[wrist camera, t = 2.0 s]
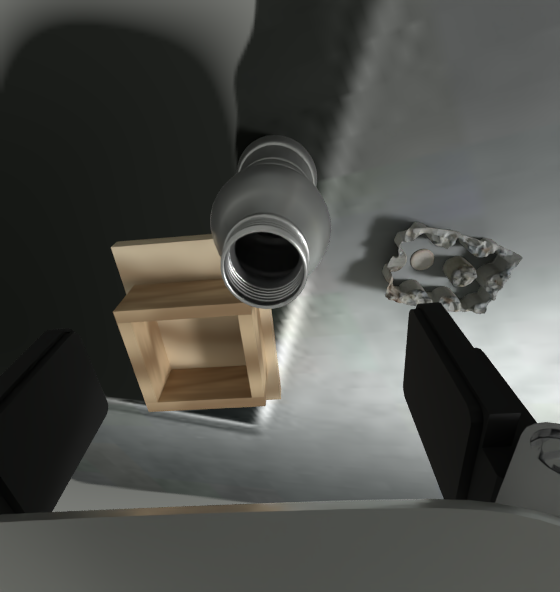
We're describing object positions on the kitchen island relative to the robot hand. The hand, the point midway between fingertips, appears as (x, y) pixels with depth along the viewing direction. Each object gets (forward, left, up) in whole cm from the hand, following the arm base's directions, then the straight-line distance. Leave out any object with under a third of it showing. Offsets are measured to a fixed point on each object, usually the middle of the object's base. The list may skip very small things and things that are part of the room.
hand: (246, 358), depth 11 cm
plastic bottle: (0, 0, -26) cm, 26 cm away
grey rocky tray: (+9, +15, -26) cm, 31 cm away
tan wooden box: (+15, -9, -25) cm, 31 cm away
